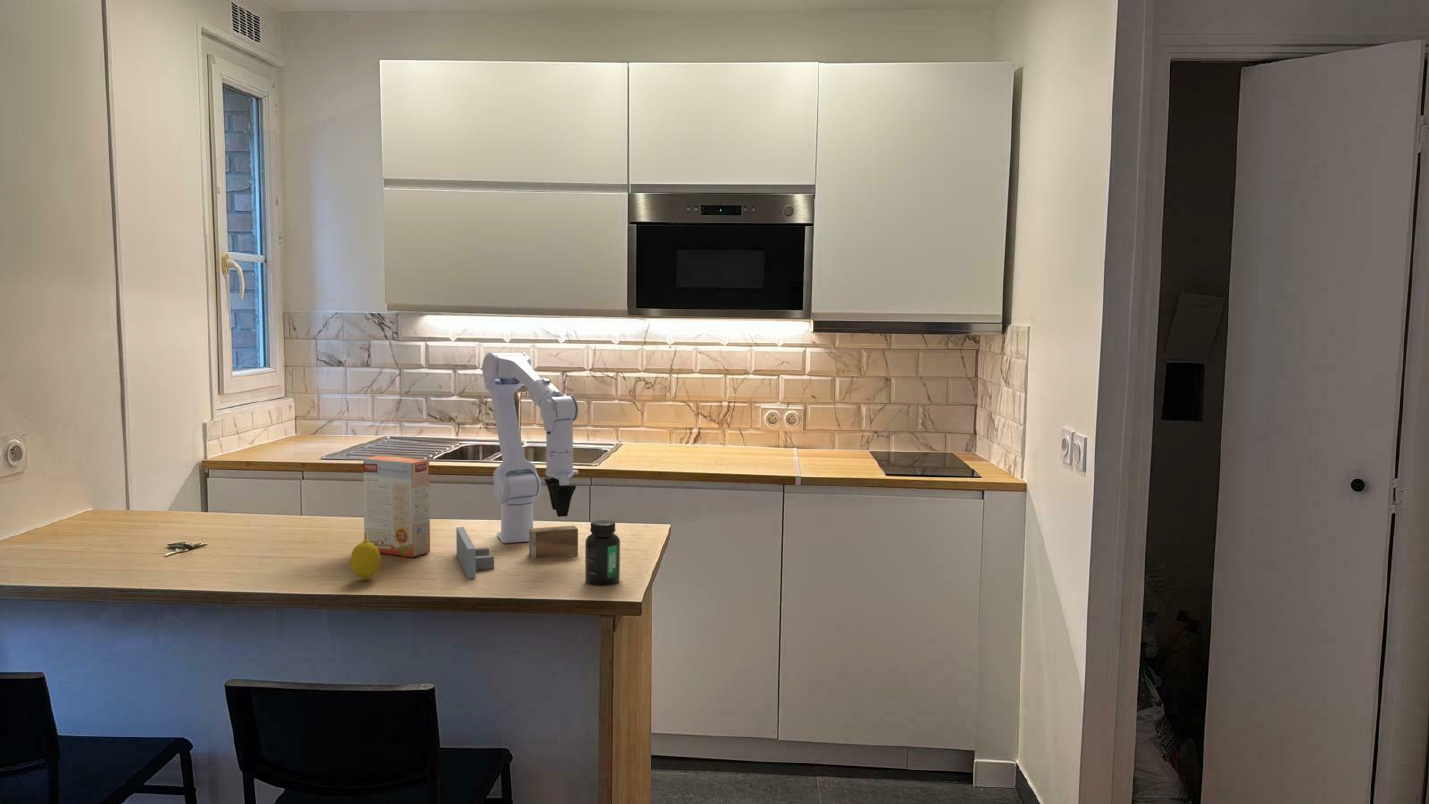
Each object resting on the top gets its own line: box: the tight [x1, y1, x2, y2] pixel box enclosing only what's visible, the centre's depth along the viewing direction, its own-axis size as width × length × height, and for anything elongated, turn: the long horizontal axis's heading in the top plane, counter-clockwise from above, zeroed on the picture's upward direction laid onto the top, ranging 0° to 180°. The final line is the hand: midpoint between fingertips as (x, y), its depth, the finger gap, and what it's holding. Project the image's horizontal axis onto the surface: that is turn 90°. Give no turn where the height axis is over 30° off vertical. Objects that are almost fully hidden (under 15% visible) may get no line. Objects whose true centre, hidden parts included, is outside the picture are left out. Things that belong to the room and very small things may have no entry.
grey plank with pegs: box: [455, 526, 495, 579], centre depth 198 cm, size 20×6×6 cm, turn 22°
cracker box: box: [362, 455, 431, 558], centre depth 206 cm, size 14×6×21 cm, turn 65°
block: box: [528, 525, 579, 560], centre depth 207 cm, size 4×10×6 cm, turn 112°
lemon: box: [350, 539, 381, 581], centre depth 185 cm, size 6×6×8 cm
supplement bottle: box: [584, 519, 621, 587], centre depth 187 cm, size 7×7×12 cm
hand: (559, 512), depth 205 cm, fingers open, 7 cm apart
